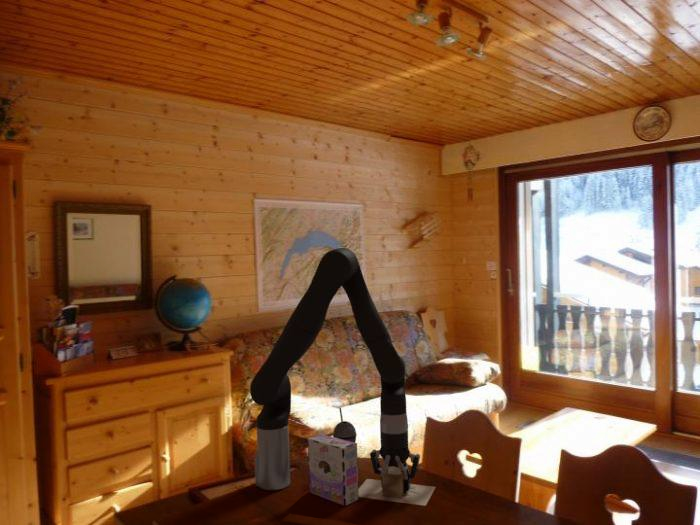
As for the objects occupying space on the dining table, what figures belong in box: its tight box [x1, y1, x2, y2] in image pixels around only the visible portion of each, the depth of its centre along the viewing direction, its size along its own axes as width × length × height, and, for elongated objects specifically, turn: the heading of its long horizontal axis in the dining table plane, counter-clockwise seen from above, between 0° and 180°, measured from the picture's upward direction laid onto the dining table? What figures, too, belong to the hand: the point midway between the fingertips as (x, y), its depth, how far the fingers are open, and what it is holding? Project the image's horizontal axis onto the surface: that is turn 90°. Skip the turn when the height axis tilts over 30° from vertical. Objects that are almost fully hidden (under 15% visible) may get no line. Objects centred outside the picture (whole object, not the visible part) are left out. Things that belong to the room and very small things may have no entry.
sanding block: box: [382, 466, 404, 499], centre depth 149 cm, size 5×8×5 cm, turn 159°
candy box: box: [306, 433, 360, 507], centre depth 148 cm, size 14×6×16 cm, turn 47°
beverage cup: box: [332, 407, 358, 443], centre depth 167 cm, size 7×7×20 cm
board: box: [358, 478, 436, 507], centre depth 149 cm, size 20×12×2 cm, turn 69°
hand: (395, 490), depth 149 cm, fingers closed on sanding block, 5 cm apart
